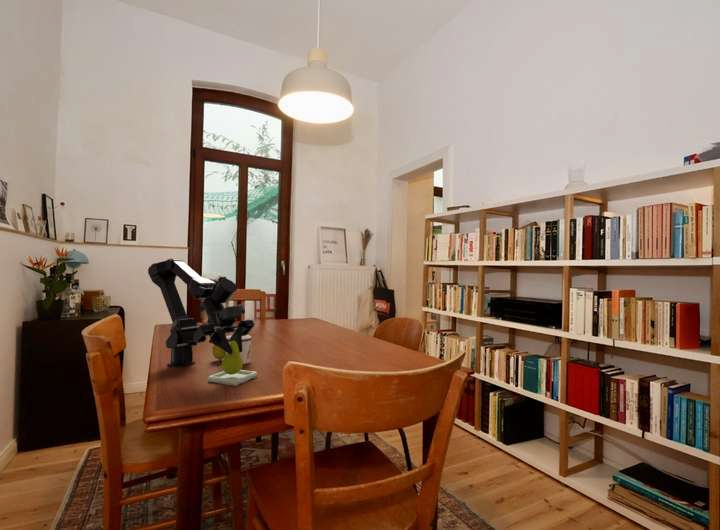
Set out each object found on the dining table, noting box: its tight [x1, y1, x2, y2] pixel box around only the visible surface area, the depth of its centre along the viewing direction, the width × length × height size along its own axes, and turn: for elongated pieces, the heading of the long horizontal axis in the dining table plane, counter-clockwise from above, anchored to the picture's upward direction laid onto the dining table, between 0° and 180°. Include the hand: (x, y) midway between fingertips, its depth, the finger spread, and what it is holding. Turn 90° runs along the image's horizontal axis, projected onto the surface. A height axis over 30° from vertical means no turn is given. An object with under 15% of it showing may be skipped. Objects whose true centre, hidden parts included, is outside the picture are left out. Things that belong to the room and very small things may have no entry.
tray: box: [207, 369, 258, 387], centre depth 113 cm, size 10×10×2 cm
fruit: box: [221, 335, 244, 375], centre depth 113 cm, size 6×6×12 cm
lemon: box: [211, 344, 226, 362], centre depth 134 cm, size 6×6×8 cm
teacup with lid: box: [225, 334, 253, 365], centre depth 134 cm, size 12×9×12 cm
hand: (236, 352), depth 112 cm, fingers closed on fruit, 3 cm apart
